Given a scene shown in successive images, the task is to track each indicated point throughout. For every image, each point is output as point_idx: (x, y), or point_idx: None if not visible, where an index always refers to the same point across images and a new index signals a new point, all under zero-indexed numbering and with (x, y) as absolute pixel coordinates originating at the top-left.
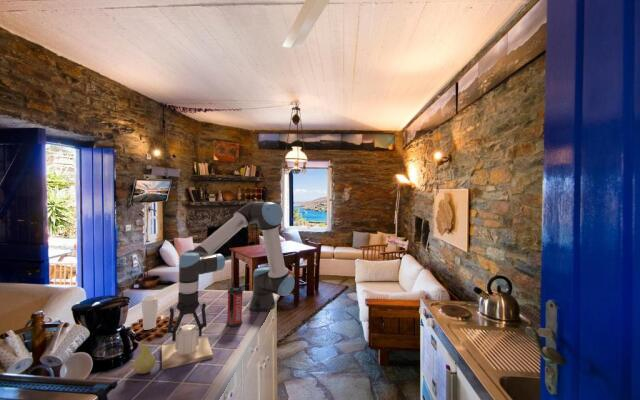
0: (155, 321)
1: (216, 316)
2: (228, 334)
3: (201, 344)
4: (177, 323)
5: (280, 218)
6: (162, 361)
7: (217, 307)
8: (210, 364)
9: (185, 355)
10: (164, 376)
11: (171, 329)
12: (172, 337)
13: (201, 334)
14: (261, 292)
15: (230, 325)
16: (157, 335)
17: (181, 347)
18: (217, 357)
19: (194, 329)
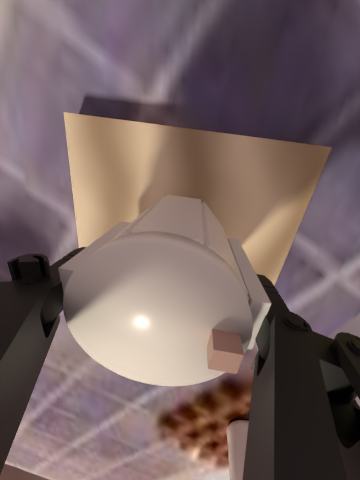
0: (234, 455)
1: (55, 396)
2: None
3: None
4: (327, 467)
5: None
6: (310, 193)
7: (52, 429)
8: (92, 45)
9: (196, 188)
10: (339, 59)
11: (328, 375)
12: (280, 296)
13: (72, 251)
14: None
15: None
16: (235, 391)
17: (214, 222)
18: (54, 109)
19: (87, 268)
